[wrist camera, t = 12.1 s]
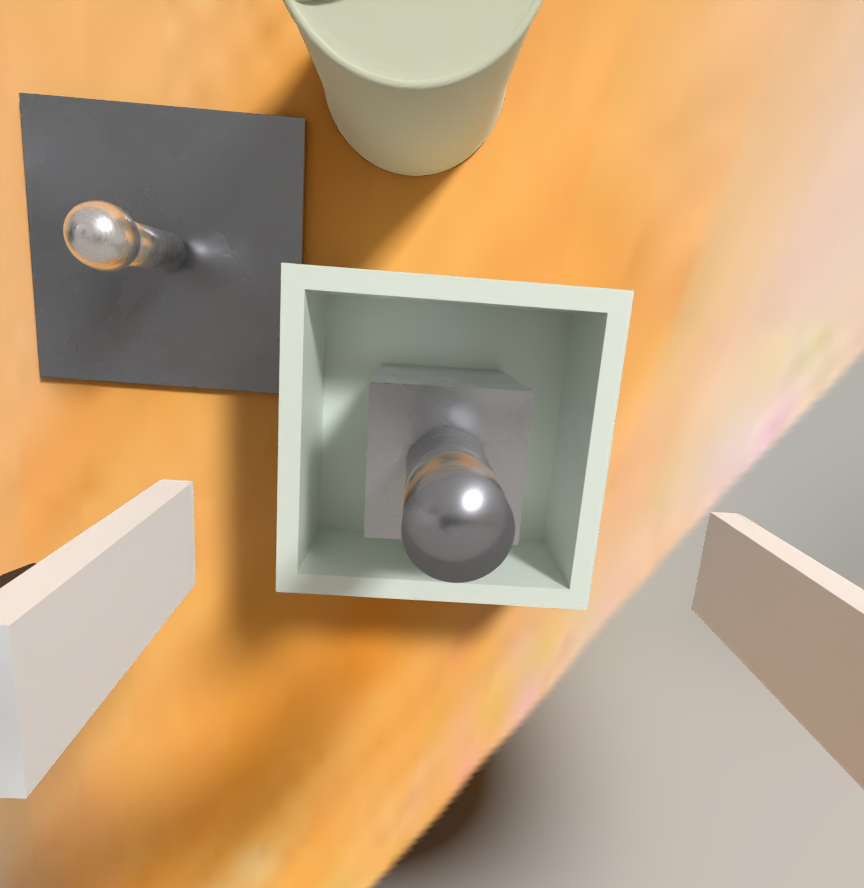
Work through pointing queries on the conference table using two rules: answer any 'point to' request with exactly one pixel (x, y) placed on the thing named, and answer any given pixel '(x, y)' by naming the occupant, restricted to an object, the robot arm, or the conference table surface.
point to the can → (414, 73)
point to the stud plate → (164, 192)
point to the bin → (447, 345)
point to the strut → (447, 465)
